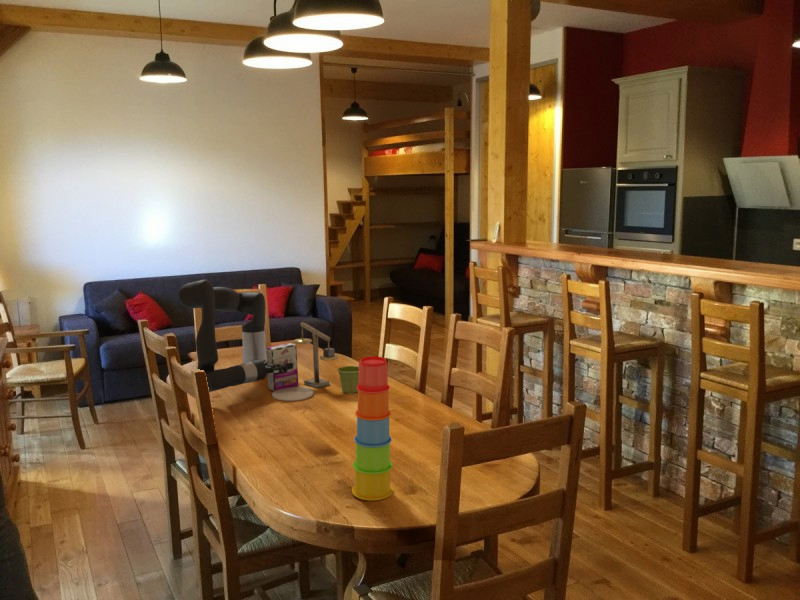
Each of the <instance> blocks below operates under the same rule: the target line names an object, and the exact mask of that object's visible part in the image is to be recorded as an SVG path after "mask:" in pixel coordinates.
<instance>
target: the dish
mask: <svg viewBox="0 0 800 600" xmlns="http://www.w3.org/2000/svg"><path fill="white" fill-rule="evenodd" d="M271 395H272V397H271V398H273V399H274V400H276V399H278V400H277V401H281V400H282V401H283V402H295V401H296V402H297V401H303V400H307V399H309V398H311V397H313V395H314V390H313V389H312V388H310V387H306V386H305V387H304V386H294V387H286V388H281V389H278V390H275V391H272V393H271Z"/></svg>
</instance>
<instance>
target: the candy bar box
mask: <svg viewBox="0 0 800 600" xmlns="http://www.w3.org/2000/svg"><path fill="white" fill-rule="evenodd" d="M265 348H266V361H267V363H271V364H277V363H278V364H280V365H282V364H288V363H293V369H289V370H287V371H288V372H287V373H282V374H278V375H273V373H272V374H267V375H266V376H267V377H266V378H267V388H268V390H270V389H271V390H270V391H272V392H274V391H275V390H278V389H281V388H286V387H299V372H298V371H299V369H298V368H299V367H298V353H297V352H298V351H297V343H292V342H287V343H282V344H278V345H273V346H268V347H265ZM276 367H277V366H276ZM282 370H283V369H282Z"/></svg>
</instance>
